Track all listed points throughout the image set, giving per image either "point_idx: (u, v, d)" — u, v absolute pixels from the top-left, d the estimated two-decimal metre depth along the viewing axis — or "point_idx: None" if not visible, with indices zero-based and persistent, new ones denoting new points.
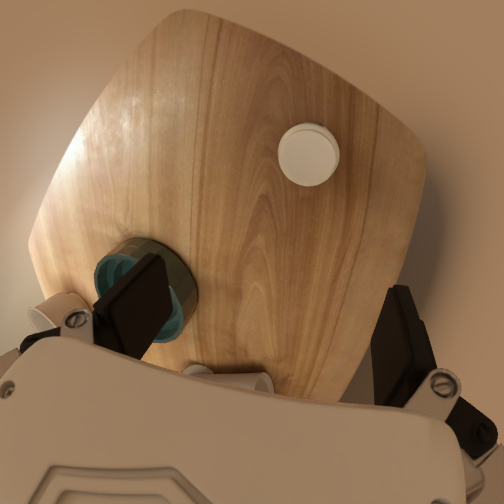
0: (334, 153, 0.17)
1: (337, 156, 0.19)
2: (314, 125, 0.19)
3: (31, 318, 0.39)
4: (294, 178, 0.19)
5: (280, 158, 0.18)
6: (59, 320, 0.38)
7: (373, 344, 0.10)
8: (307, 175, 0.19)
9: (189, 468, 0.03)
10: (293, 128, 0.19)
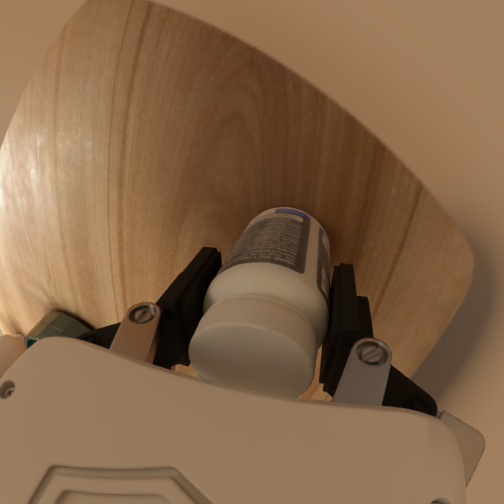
0: (310, 372, 0.08)
1: (322, 338, 0.09)
2: (282, 274, 0.09)
3: None
4: None
5: (192, 358, 0.08)
6: (4, 371, 0.26)
7: None
8: None
9: (189, 468, 0.03)
10: (233, 275, 0.09)
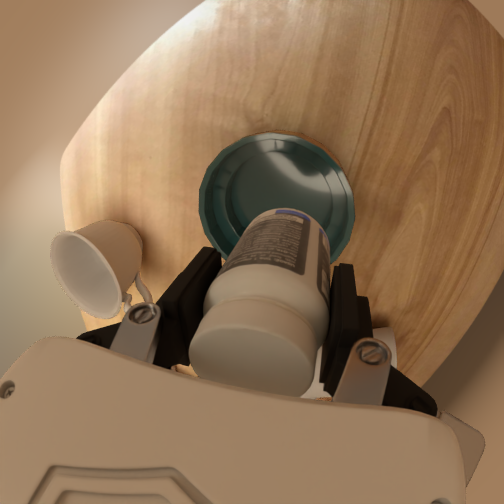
0: (311, 373, 0.08)
1: (322, 339, 0.09)
2: (282, 276, 0.09)
3: (55, 254, 0.29)
4: None
5: (192, 360, 0.08)
6: (109, 252, 0.28)
7: None
8: None
9: (189, 468, 0.03)
10: (233, 276, 0.09)
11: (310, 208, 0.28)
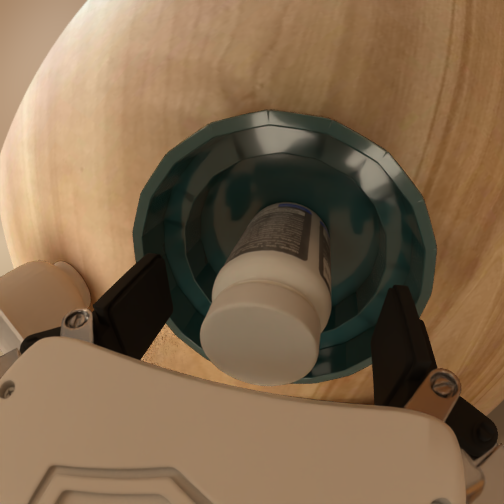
0: (315, 351, 0.08)
1: (324, 322, 0.10)
2: (287, 261, 0.10)
3: None
4: (230, 372, 0.10)
5: (203, 341, 0.09)
6: (28, 319, 0.15)
7: (373, 344, 0.10)
8: (256, 373, 0.09)
9: (189, 468, 0.03)
10: (241, 262, 0.10)
11: (340, 258, 0.16)
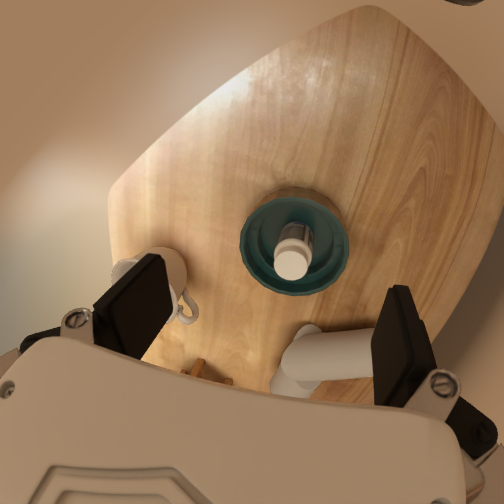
0: (306, 265, 0.32)
1: (310, 260, 0.34)
2: (298, 241, 0.33)
3: (115, 275, 0.40)
4: (281, 275, 0.33)
5: (275, 264, 0.33)
6: (168, 275, 0.39)
7: (373, 344, 0.10)
8: (289, 274, 0.33)
9: (189, 468, 0.03)
10: (285, 241, 0.34)
11: (318, 243, 0.39)
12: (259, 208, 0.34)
